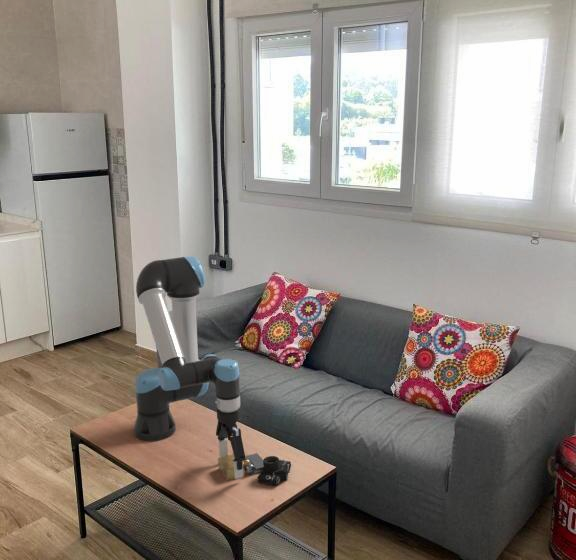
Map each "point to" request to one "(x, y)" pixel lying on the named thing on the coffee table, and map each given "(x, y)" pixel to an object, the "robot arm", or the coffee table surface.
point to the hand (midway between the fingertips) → (231, 467)
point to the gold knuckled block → (229, 466)
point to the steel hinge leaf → (254, 464)
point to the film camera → (274, 470)
